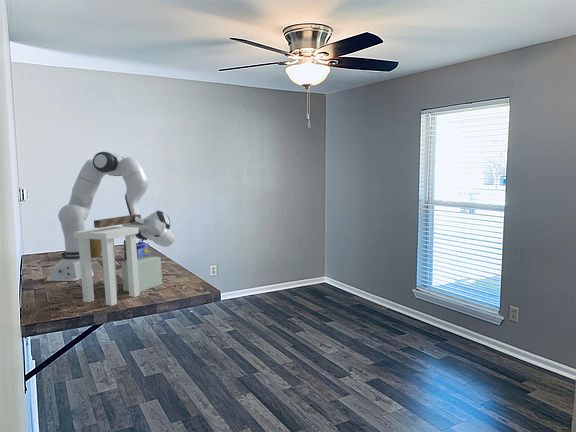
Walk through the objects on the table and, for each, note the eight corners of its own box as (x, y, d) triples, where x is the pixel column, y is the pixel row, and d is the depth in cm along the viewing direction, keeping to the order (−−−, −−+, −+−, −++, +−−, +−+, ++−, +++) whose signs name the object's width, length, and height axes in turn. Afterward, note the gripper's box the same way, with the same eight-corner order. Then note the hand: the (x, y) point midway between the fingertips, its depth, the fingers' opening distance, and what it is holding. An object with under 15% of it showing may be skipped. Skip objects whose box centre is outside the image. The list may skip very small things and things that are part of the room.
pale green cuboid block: (138, 292, 198) (136, 264, 196) (123, 290, 202) (121, 263, 200) (162, 283, 212) (160, 257, 211) (147, 282, 216) (146, 256, 215)
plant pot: (100, 258, 283) (98, 233, 281) (77, 258, 283) (75, 234, 282) (110, 253, 298) (108, 230, 296) (88, 254, 298) (86, 231, 296)
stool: (111, 306, 178) (105, 233, 175) (79, 302, 185) (73, 232, 182) (143, 294, 194) (138, 227, 191) (112, 291, 202) (107, 226, 198)
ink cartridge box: (138, 266, 254) (137, 241, 253) (131, 265, 256) (129, 241, 255) (150, 262, 263) (148, 239, 262) (142, 262, 265) (141, 238, 264)
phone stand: (136, 259, 276) (135, 240, 275) (126, 260, 273) (125, 241, 272) (134, 256, 284) (132, 238, 282) (124, 258, 281) (123, 239, 280)
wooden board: (99, 227, 181) (99, 220, 181) (94, 227, 182) (93, 220, 182) (141, 221, 203) (140, 214, 203) (136, 220, 204) (135, 214, 204)
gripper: (135, 222, 216) (115, 211, 204) (168, 223, 208) (150, 211, 196) (131, 234, 214) (111, 223, 202) (164, 236, 205) (145, 224, 194)
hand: (130, 217), depth 199 cm, fingers closed on wooden board, 3 cm apart
